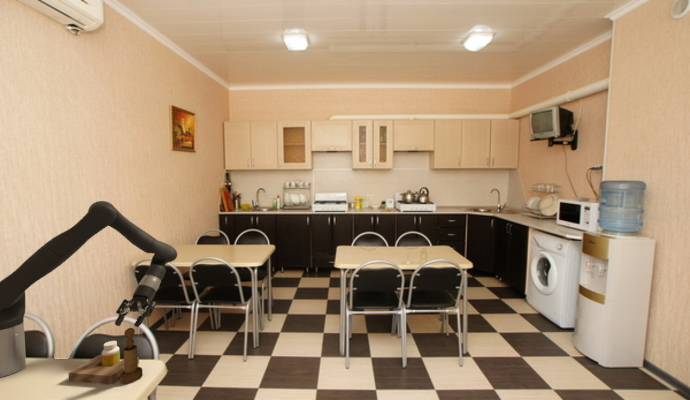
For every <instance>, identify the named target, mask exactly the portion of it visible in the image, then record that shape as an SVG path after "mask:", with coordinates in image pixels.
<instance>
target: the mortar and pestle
mask: <svg viewBox="0 0 690 400" xmlns="http://www.w3.org/2000/svg"><path fill="white" fill-rule="evenodd" d="M135 331H136V330H135V329H134V328H133V327H129V328H126V329H125V330H124V336H125V338H127V339H126V341H125V344H126V347H124V348H123V359H124V371H123V372H122V373H121V374H120V379H119V382H120V384H124V385H128V384H131V383H134V382H137V381H139V380H140V379H141V378H143V376H144V375H143V368H142V367H140V366H139V365H138V364H137V357H138V346H137V345H136V344H134V343H135V340H134V339H133V337H134V336H135V333H136V332H135Z"/></svg>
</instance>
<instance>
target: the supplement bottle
mask: <svg viewBox="0 0 690 400" xmlns="http://www.w3.org/2000/svg"><path fill="white" fill-rule="evenodd" d="M120 354H121V351H120V347H119V346H118V342H117V340H111V341H110V340H109V341H107V342H105V343H104V344H103V350H102V351H101V355H102V366H106V367H112V366H113V365H115V364H116V363H118V362H119V361H121V355H120Z"/></svg>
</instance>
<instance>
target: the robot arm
mask: <svg viewBox="0 0 690 400" xmlns="http://www.w3.org/2000/svg"><path fill="white" fill-rule="evenodd" d="M107 227H110V228H112V229H114V230H115V231H116V232H118V233H119V235H121V236H122V237H124V238H125V239H126V240H127V241H128V242H129V243H130V244H131V245H133V246H134V247H137V248H138V250H141V251H142V252H144V253H146V254H153V255H152V258H151V260H150V263H149V268H148V269H147V271H146V273H145V274H144V276H143V277H142V279H141V280H140V281H139V284H138V285H137V287H136V288H135V290H134V292H133V293H132V298H131V299H130V300H128V299H126V298H125V299H123V300H122V302H121V304H120V305H119V306H118V308H117V310H116V311H115V313H116V314H117V315H118V316H117V318H116V319H115V322H114V325H115V326H117V327H120V326H121V325H122V323H123V322H124V319H125V318H126V316H127V315H129V314H132V313H135V312H137V313H138V314H139V316H137V319H136V320H137V321H136V320H135V322H134V324H133V325H134V327H135V328H139V327H140V326H141V325H142V323H143V321H144V320H145V318H149V317H151V316H152V313H153V311H154V309H155V307H156V305H157V303H156V301H154V300H153V299H154V297H155V295H156V294H157V293H156V292H157V291H158V289H159V287H160V284H161V283H162V280H163V279H164V277H165V275H166V272H167V270H166V268H165V267H166V265H167V264H170V263H171V262H173V261H175V260H176V259H177V257H178V252H177V250H176V249H175V248H174V247H173V246H172V245H170V244H168V243H165V242H163V241H161V240H158V239H156V238H155V237H153V235H152V234H151V235H150V233H148V232H146V231H145V230H144V229H142V228H141V227H139V226H137V225H136V224H135V223H133V222H131V220H130V219H128V218H127V217H125V216H124V215H123V214H122V213H121V212H120V211H119V210H118V209H117V208H116V207H115V206H114V205H113V204H112V203H111V202H109V201H104V200H98V201H96V202H93V203H91V205H90V206H89V208H88V210H87V212H86V214H85V215H84V216H82V218H80V220H78V221H77V222H76V223H75V224H74V225H73V226H71V228H68V229H67V230H65V231H63V232H61V233H59V234H58V235H56V236H54V237H53V238H51V239H50V240H48V241H47V242H45V243H44V244H43V245H42V246H41V247H40V248H38V249H37V250H36V251H35V252H34V253H32V255H30V256H29V257H28V258H27V259H26V260H25V261H23V263H22V264H20V265H19V266H18V267H17V268H16V269H15V270H14V271H13V272H11V274H9V275H7V276H6V277H5V278H3V279H2V280H0V378H2V377H7V376H10V375H13V374H15V373H18V372H20V371H21V370H23V369H24V367H25V368H26V366H27V360H26V359H27V358H26V342H25V341H26V340H25V321H24V317H25V314H26V291H27V290H28V289H29V288H30V287H31V286H32V285H34V284H35V283H36V282H38V281H39V280H41V279H42V278H44V277H46V276H47V275H49V274H50V273H51V272H54V270H56V269H57V268H58V267H60V266H61V265H62V264H64V263H65V262H66V261H68V260H69V258H71V257H72V256H73V255H74V254H75V253H76V252H77V251H79V250H80V249H81V248H82V247H83V246H84V245H85V244H86V243H87V242H88V241H89V240H91V238H93V237H94V236H95V235H97V234H99V233H100V232H101V231H102V230H104V229H105V228H107Z"/></svg>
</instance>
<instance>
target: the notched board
mask: <svg viewBox="0 0 690 400" xmlns="http://www.w3.org/2000/svg"><path fill="white" fill-rule="evenodd" d="M137 364H139V365H140V357H139V356H137ZM123 371H124V358H122V359H120V361H119V362H118V363H116V364H115V365H113V366H112V367H106V366H102V354H99V355H96V356H94V357H93V358H92V359H89V360H88V361H86V362H85V363H83V364H81V365H79V366H78V367H76V368H74V369H73V370H70V371H69V372H68V382H74V383H76V382H77V383H87V384H88V383H89V384H102V385H113V384H114V383H116V382H117V381H120V374H121V373H122V372H123Z"/></svg>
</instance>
